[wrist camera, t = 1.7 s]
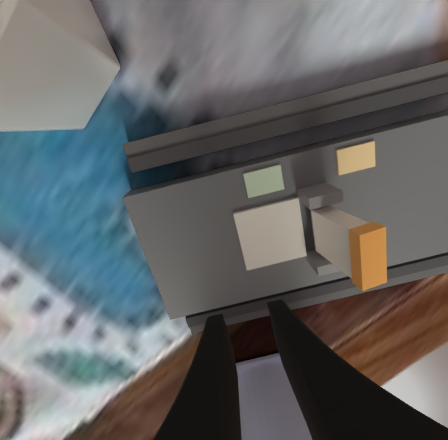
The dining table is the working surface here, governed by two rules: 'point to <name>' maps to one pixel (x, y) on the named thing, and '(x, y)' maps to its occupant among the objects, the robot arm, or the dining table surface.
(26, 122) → the jar
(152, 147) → the long dark grey rail
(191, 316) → the thin grey bar
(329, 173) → the toggle switch panel
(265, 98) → the dining table surface
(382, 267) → the breaker lever
